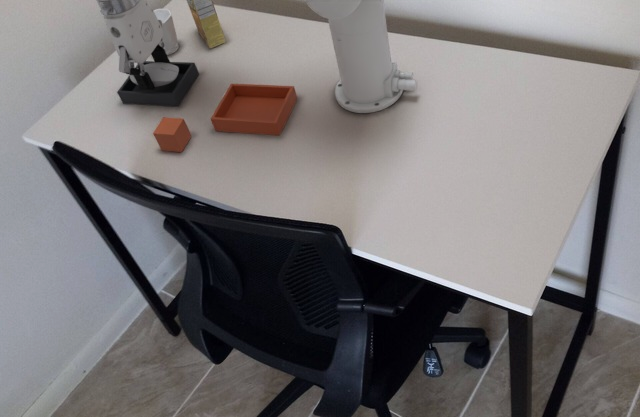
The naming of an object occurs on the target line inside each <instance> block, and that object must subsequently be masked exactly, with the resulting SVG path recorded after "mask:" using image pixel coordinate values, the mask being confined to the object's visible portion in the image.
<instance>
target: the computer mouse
mask: <svg viewBox="0 0 640 417" xmlns="http://www.w3.org/2000/svg"><path fill="white" fill-rule="evenodd" d="M137 69H138V68H137ZM144 70H145V72H148V74H149V76H150V78H151V80H152V82H153V84H154V86H155V87H158V86H163V85H167V84H170V83H171V82H173V81H174V80H175V79H176V77H177V75H178V72H179V68H178V67H177V66H176V65H173V64H169V63H163V62H156V63H150V64H146V65H144ZM130 79H131V81H132V82H133V83H135V84H137V85H138V83H137V81H136V79H135V77H134V75H130Z"/></svg>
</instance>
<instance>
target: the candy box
mask: <svg viewBox="0 0 640 417" xmlns="http://www.w3.org/2000/svg"><path fill="white" fill-rule="evenodd" d="M186 3H187V5H188V8H189V10H190V13H191V15H192V19H193V21H194V24H195V26H196V30H197V31H198V34H200V37H201V38H202V39H203V41H204V42H205V44H206V45H207V46H208V48H209V49H210V50H212V49H213V48H215V47H217V46H220V45H223V44H225V43H226V42H227V41H226V38H225V35H224V31H223V29H222V24H221V23H220V20H219V17H218V14H217V11H216V7H215V5H214V2H213V0H186Z"/></svg>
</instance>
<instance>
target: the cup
mask: <svg viewBox="0 0 640 417" xmlns="http://www.w3.org/2000/svg"><path fill="white" fill-rule="evenodd" d="M153 11H154V13H155V15H156V17H157V19H158V20H161V21H162V30H163V37H162V41H163V42H164V48H163V49H164V50H165V52H166V54H167V56H169V55H171V54H174V53H176V52H177V50H178V49H179V48H180V47H179V44H178V36H177V35H178V34H177V32H176V28H175V24H174V19H173V15H172V13H171V11H170V9H169V8H157V9H154V10H153Z"/></svg>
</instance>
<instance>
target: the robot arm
mask: <svg viewBox="0 0 640 417" xmlns="http://www.w3.org/2000/svg"><path fill="white" fill-rule="evenodd" d="M95 1H96V3H97V4H98V7H99V9H100V14H101V15H102V16H103V20H104V23H105V26H106V29H107V32H108V36H109V37H110V40H111V42H112V45H113V47H114V49H115V51H116V53H117V55H118V57H119V58H118V59H119V61H118V72H119V73H121V74H126V75H128V76H129V75H134V77H135V79H136V81H137V83H138V85H139V87H140V89H143V90H153V89H154V88H155V86H154V84H153V82H152V80H151V78H150V76H149V74H148V72H145V70H144V63H143V62H145V61H148V59H149V57H150V56H151V57H152V59H153V61H155V63H156V62H163V63H169V64H171V63H170V62H171V61H170V59H169V55H167V54H166V52H165V50H164V49H163V48H164V42H163V41H162V37H163V30H162V21H161V20H158V19H157V17H156V15H155V13H154V10H153V8H152V6H151V5H150V3H149V1H148V0H95ZM303 1H304V3H305V4H306V5H307V6H308V7H309V9H311V11H312V12H314V13H315V14H316V15H318V16H320V17H322V18H324V19H327V21H328V26H329V32H330V36H331V41H332V46H333V50H334V54H335V59H336V65H337V69H338V73H339V80H338V82H337V83H336V85H335V88H334V95H335V99H336V102H337V104H338V105H339V106H340V107H342V108H343V109H344V110H346V111H349V112H352V113H358V114H371V113H376V112H379V111H383V110H385V109H387V108H389V107H390V106H392V105H393V104H395V103H396V102H397V101H398V100H399V99H400V98H401V96H402V95H403V92H404V91H406V92H407V91H408V92H409V91H411V92H416V91H417V90H418V89H417V88H418V80H417V79H414V72H412V71H405V72H404V71H401V70H398V63H397V62H393V61H392V56H391V55H392V54H391V49H390V48H391V47H390V40H389V32H388V26H387V20H386V9H385V1H384V0H303ZM135 64H136V65H137V64H138V69H137V68H135V67H136V66H135Z"/></svg>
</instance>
